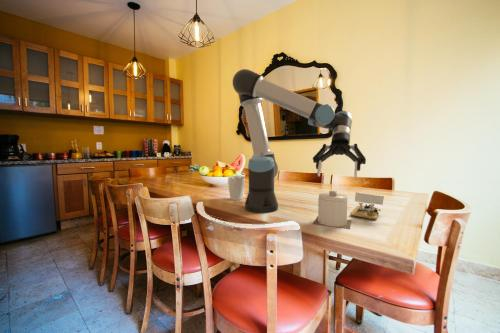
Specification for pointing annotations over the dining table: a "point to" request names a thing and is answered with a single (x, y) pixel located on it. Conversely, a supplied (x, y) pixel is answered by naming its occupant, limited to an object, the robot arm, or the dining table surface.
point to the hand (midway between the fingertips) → (336, 175)
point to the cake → (366, 210)
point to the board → (332, 226)
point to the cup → (236, 187)
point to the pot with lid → (332, 209)
